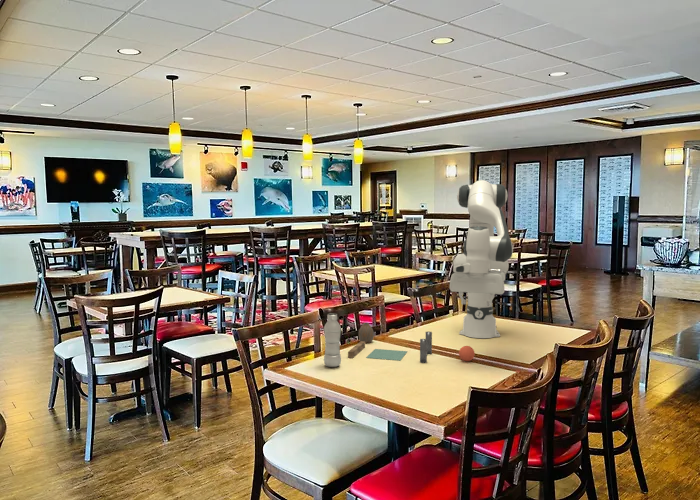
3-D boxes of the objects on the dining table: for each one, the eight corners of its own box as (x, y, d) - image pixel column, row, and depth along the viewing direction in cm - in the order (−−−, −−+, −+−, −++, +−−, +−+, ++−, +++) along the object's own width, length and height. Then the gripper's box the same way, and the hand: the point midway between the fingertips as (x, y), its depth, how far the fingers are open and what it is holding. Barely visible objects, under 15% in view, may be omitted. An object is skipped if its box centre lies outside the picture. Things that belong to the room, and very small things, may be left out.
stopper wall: (360, 346, 226) (360, 341, 226) (365, 347, 226) (364, 341, 226) (348, 357, 209) (347, 351, 209) (352, 358, 209) (352, 352, 209)
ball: (459, 358, 208) (459, 343, 207) (475, 359, 206) (475, 344, 206) (458, 362, 202) (458, 347, 202) (474, 363, 200) (474, 348, 200)
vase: (372, 344, 231) (372, 324, 230) (357, 343, 232) (357, 324, 232) (374, 340, 238) (374, 321, 237) (360, 340, 239) (359, 321, 238)
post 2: (425, 352, 217) (426, 331, 216) (432, 353, 216) (432, 331, 215) (424, 354, 214) (425, 332, 214) (431, 354, 213) (431, 333, 213)
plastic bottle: (332, 363, 202) (332, 312, 201) (344, 366, 197) (344, 314, 196) (320, 366, 198) (319, 314, 196) (332, 370, 193) (331, 316, 192)
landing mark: (374, 349, 222) (374, 348, 222) (407, 351, 218) (407, 351, 218) (366, 357, 209) (366, 357, 209) (400, 360, 205) (400, 360, 205)
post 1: (420, 361, 204) (420, 338, 204) (427, 361, 203) (427, 338, 203) (419, 362, 202) (419, 340, 201) (426, 363, 201) (426, 340, 200)
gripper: (506, 269, 196) (505, 306, 196) (452, 267, 204) (451, 302, 204) (504, 269, 191) (503, 307, 190) (449, 267, 199) (447, 303, 198)
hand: (476, 305), depth 197 cm, fingers open, 8 cm apart
